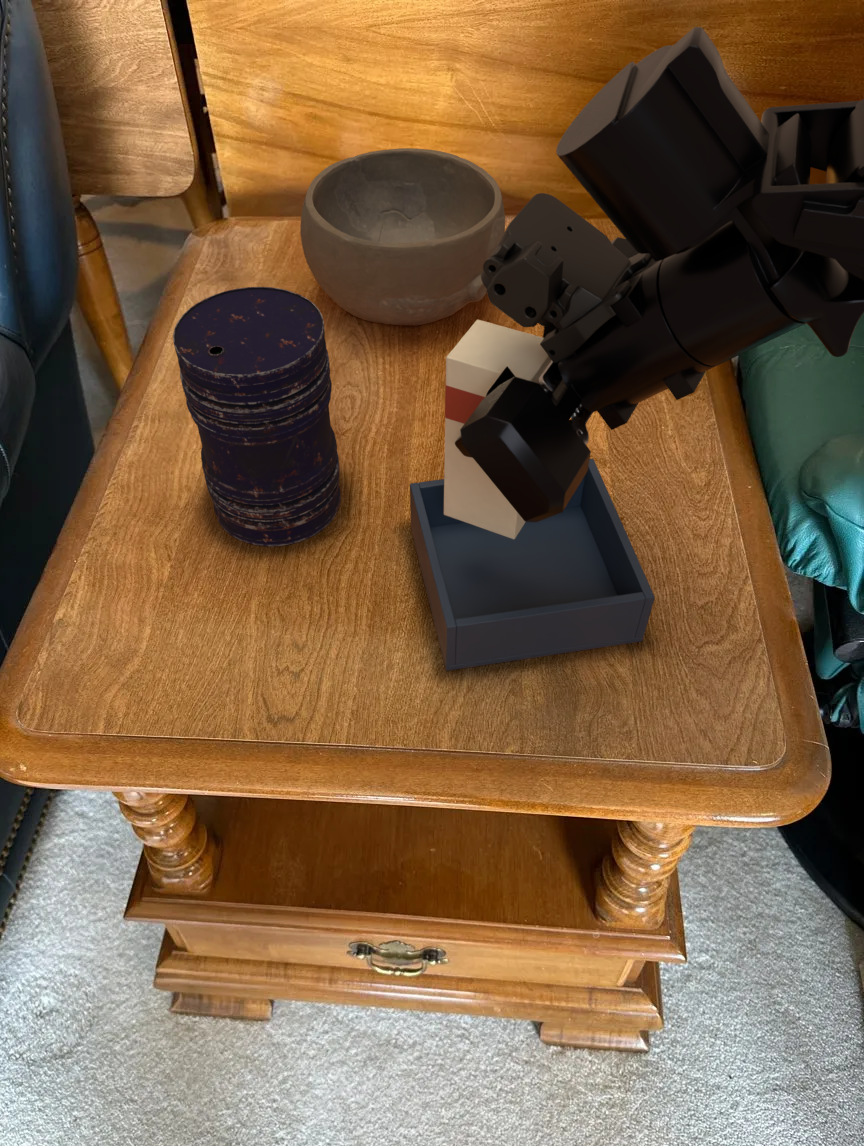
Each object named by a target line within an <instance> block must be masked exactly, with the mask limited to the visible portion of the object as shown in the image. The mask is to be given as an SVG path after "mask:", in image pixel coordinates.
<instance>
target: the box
mask: <svg viewBox="0 0 864 1146" xmlns="http://www.w3.org/2000/svg"><path fill="white" fill-rule="evenodd" d="M409 503H410V504H409V506H410V509H409V511H410V530H411V535H412V540H413V543H414V548H415V552H416V555H417V560H418V563H419V568H420V571H421V576H422V580H423V584H424V587H425V592H426V596H427V600H428V604H429V608H430V612H431V615H432V620H433V624H434V629H435V632H436V636H437V640H438V644H439V649H440V653H441V656H442V657H441V658H442V660H443V664H444V668H445V671H446V672H448V671H454V670H460V669H467V668H474V667H481V666H489V665H496V664H500V663H507V662H514V661H521V660H528V659H534V658H540V657H547V656H556V655H562V654H567V653H568V654H569V653H575V652H581V651H588V650H595V649H600V648H608V647H613V646H615V647H616V646H621V645H628V644H634V643H635V644H636V643H641V642H643V640H644V636H645V633H646V630H647V626H648V623H649V620H650V616H651V612H652V609H653V606H654V602H655V598H656V597H655V594H654V591H653V590H652V587H651V585H650V583H649V581H648V579H647V576H646V573H645V572H644V570H643V567H642V565H641V563H640V560H639V557H638V555H637V554H636V551H635V549H634V547H633V545H632V543H631V540H630V538H629V536H628V534H627V531H626V529H625V527H624V524H623V522H622V520H621V518H620V516H619V513H618V511H617V509H616V507H615V504H614V502H613V499H612V498H611V495H610V494H609V491H608V488H607V486H606V484H605V482H604V479H603V477H602V475H601V473H600V471H599V468H598V466H597V464H596V462H595V459H594V458H590V460H589V465H588V471H587V473H586V474H585V476H584V478H583V479H582V481H581V482H580V484H579V486H578V487H577V489H576V491H575V492H574V494H573V496H572V497H571V499H570V501H569V502H568V504H567V505H566V507H565V509H564V510H563V512H561V513H559V514H556V515H554V516H551V517H549V518H546V519H543V520H541V521H538V522H525V524H524V525H523V527H522V528H521V530H520V532H519V533H518V535H517V536H516V538H515V539H511V538H509V537H506V536H503V535H500V534H497V533H494V532H492V531H489V530H486V529H483V528H480V527H477V526H475V525H472V524H469V523H466V522H463V521H460V520H458V519H455V518H452V517H449V516H446V515H444V478H441V479H435V480H434V479H433V480H425V481H419V482H411V483H409Z"/></svg>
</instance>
